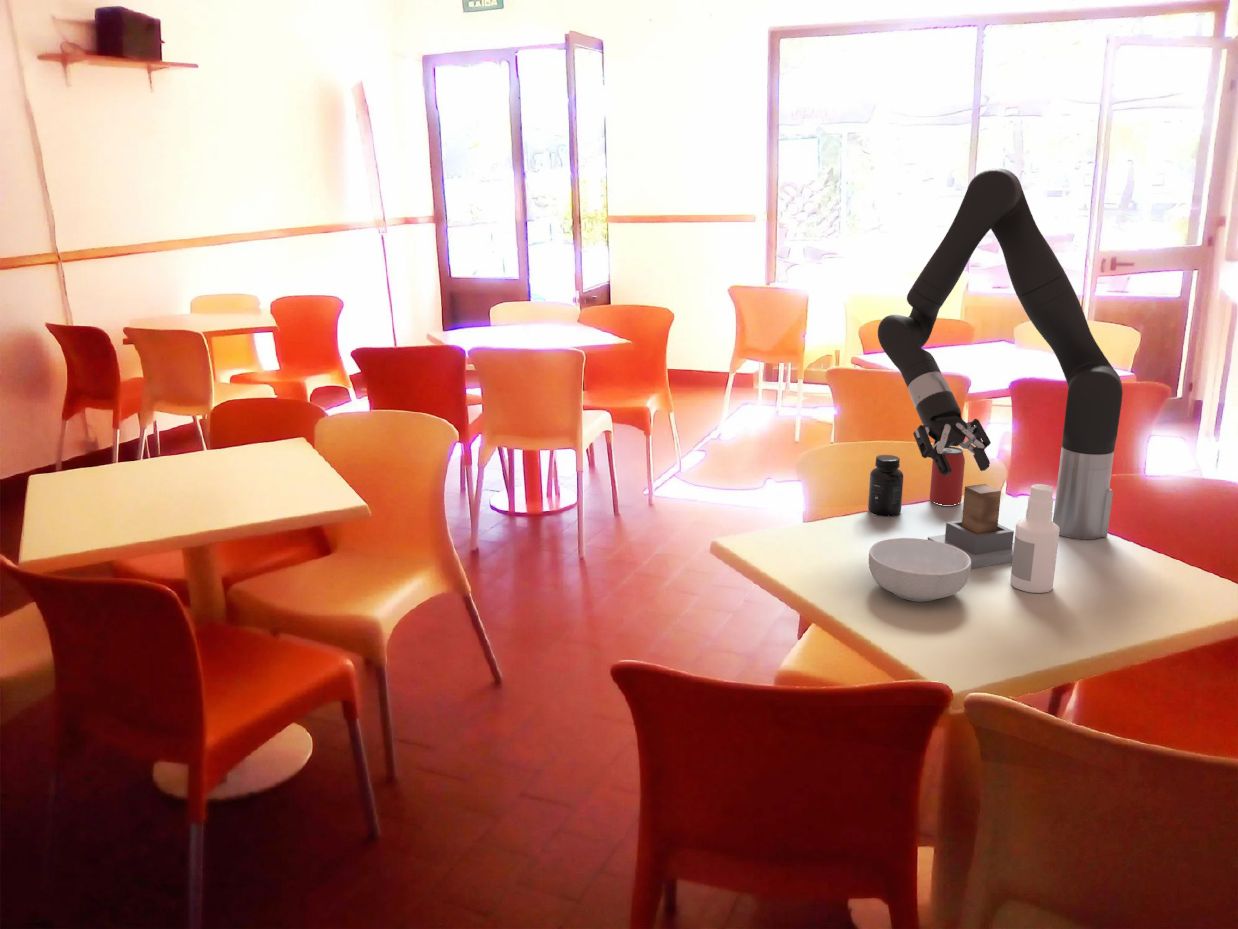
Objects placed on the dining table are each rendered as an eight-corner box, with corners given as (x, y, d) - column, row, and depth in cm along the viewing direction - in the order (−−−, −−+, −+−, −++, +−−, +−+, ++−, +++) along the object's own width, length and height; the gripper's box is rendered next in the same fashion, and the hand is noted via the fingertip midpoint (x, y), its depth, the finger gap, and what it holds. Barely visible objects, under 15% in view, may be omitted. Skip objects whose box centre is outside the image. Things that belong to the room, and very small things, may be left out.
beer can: (923, 499, 211) (927, 447, 208) (948, 496, 213) (953, 444, 210) (941, 508, 205) (945, 455, 202) (967, 505, 207) (972, 451, 204)
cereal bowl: (970, 619, 154) (974, 578, 152) (864, 607, 159) (866, 568, 157) (966, 578, 170) (969, 540, 168) (869, 569, 175) (871, 532, 173)
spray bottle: (1020, 574, 171) (1030, 478, 166) (1059, 585, 166) (1071, 486, 161) (1003, 586, 166) (1013, 487, 161) (1042, 597, 162) (1054, 496, 156)
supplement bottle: (860, 510, 205) (864, 456, 202) (884, 504, 209) (887, 451, 205) (884, 519, 200) (887, 464, 196) (908, 513, 203) (911, 458, 200)
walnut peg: (979, 538, 184) (985, 483, 181) (995, 546, 180) (1001, 490, 177) (960, 541, 183) (964, 486, 180) (975, 549, 179) (980, 493, 176)
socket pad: (983, 535, 190) (985, 511, 188) (1029, 559, 178) (1032, 533, 176) (927, 544, 186) (929, 520, 184) (970, 568, 174) (973, 543, 172)
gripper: (911, 393, 184) (945, 465, 177) (973, 386, 188) (1008, 457, 181) (894, 414, 190) (925, 485, 183) (954, 407, 195) (987, 476, 187)
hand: (966, 471), depth 182 cm, fingers open, 8 cm apart
